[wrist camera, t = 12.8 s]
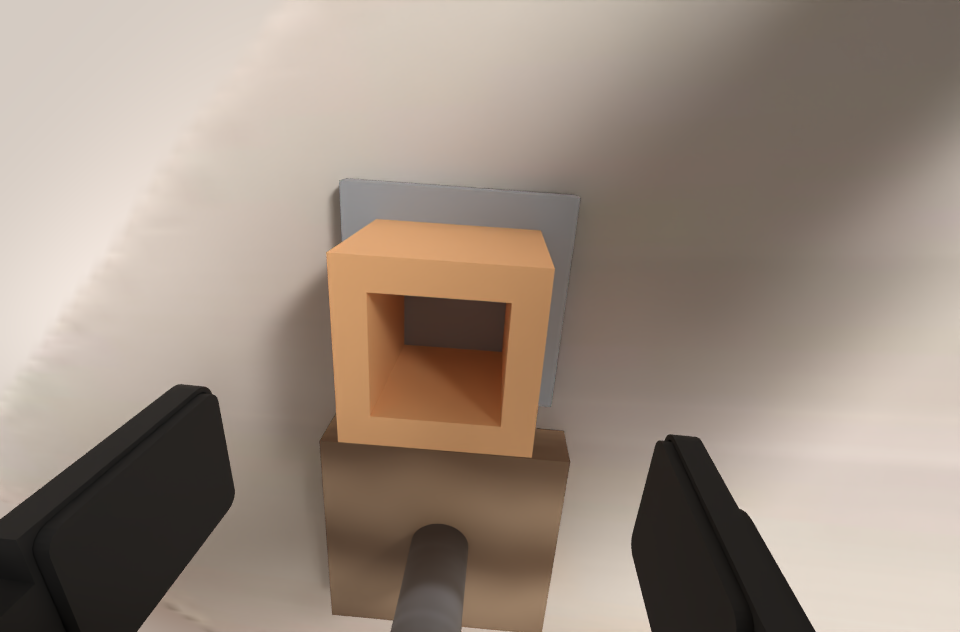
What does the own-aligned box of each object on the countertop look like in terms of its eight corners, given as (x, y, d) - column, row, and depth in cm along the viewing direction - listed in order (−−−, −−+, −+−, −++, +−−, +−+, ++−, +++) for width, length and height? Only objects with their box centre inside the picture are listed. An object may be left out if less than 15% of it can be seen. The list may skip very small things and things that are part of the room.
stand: (337, 411, 25) (243, 566, 16) (563, 431, 24) (596, 599, 16) (346, 576, 29) (276, 768, 20) (538, 594, 29) (553, 796, 20)
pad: (346, 178, 20) (339, 180, 19) (576, 195, 20) (580, 197, 19) (354, 380, 24) (348, 390, 23) (549, 396, 24) (551, 407, 23)
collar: (376, 218, 20) (326, 252, 14) (540, 230, 20) (554, 269, 14) (379, 365, 22) (337, 441, 17) (525, 376, 22) (531, 457, 17)
